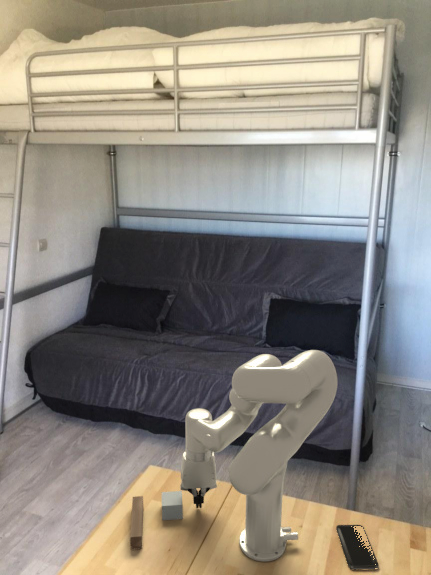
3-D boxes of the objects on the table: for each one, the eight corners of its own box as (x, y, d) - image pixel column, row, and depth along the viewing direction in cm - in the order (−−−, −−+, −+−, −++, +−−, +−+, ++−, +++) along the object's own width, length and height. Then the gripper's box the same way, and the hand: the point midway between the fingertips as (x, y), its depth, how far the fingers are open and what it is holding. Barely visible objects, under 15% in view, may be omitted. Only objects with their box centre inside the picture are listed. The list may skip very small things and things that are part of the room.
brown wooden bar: (143, 507, 149) (142, 496, 148) (142, 548, 133) (141, 536, 132) (133, 508, 148) (132, 496, 147) (130, 549, 133) (130, 537, 132)
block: (182, 504, 150) (181, 490, 149) (182, 519, 144) (182, 504, 143) (162, 506, 149) (161, 492, 148) (162, 520, 144) (161, 506, 142)
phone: (349, 567, 127) (335, 524, 141) (349, 571, 127) (335, 528, 141) (380, 567, 127) (363, 524, 141) (379, 571, 127) (362, 527, 141)
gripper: (222, 442, 147) (221, 494, 152) (172, 445, 145) (172, 498, 150) (226, 457, 140) (225, 512, 145) (173, 460, 138) (173, 515, 143)
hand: (198, 504), depth 147 cm, fingers closed
